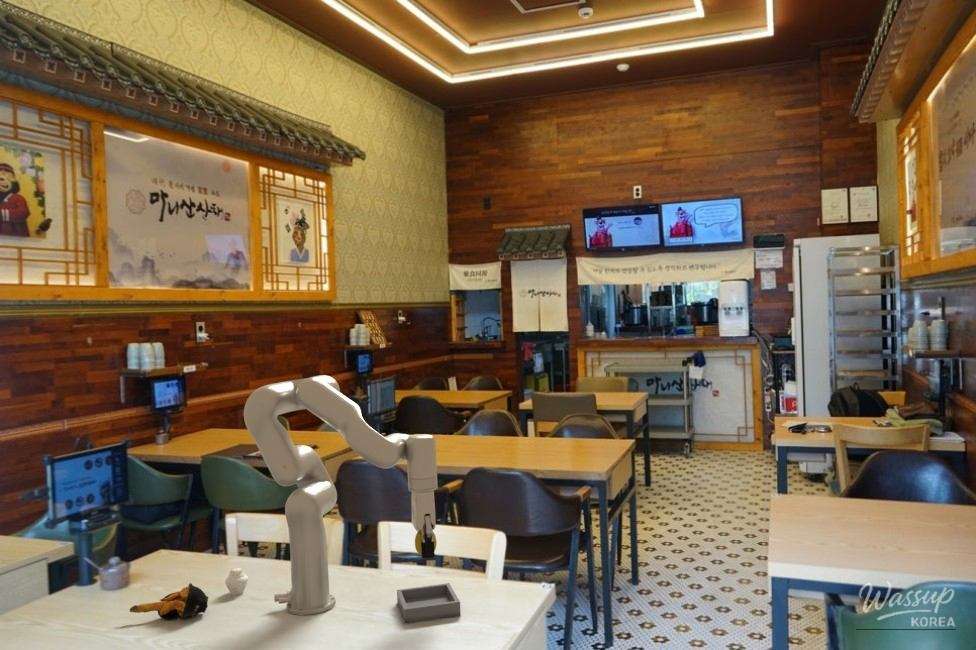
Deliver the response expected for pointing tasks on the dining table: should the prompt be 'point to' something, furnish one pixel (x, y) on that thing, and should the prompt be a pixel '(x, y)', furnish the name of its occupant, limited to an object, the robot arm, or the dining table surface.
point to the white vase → (236, 581)
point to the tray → (428, 603)
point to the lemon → (419, 539)
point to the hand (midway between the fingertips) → (426, 553)
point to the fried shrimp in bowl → (177, 604)
